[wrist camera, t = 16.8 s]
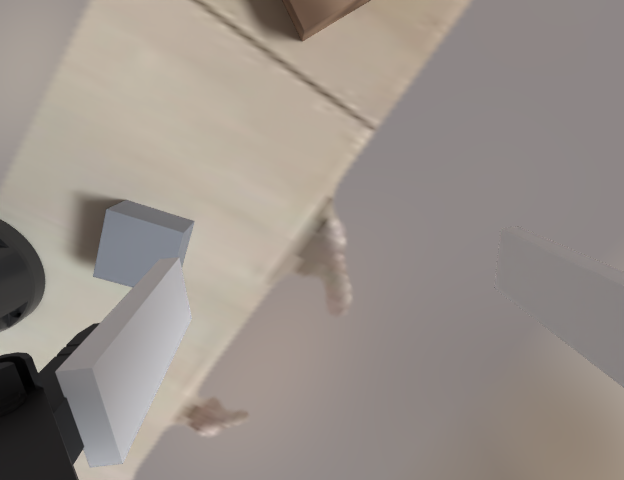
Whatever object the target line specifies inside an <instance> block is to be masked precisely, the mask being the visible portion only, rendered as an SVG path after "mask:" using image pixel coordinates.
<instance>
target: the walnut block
mask: <svg viewBox="0 0 624 480" xmlns="http://www.w3.org/2000/svg"><path fill="white" fill-rule="evenodd" d="M282 1H283V3H284V5H285V7H286V9H287V11H288V13H289V15H290V18H291V20H292V22H293V24H294V26H295V28H296V30H297V32H298V34H299V36H300V38H301V40H302V41H304V40H306V39H307V38H309V37H311V36H312V35H314V34H316V33H317V32H319V31H321V30H322V29H324V28H325V27H327V26H329V25H330V24H332V23H334V22H335V21H337V20H339V19H340V18H342V17H344V16H345V15H347V14H349V13H350V12H352V11H354V10H355V9H357V8H359V7H360V6H362V5H364V4H365V3H367V2H369V1H370V0H282Z"/></svg>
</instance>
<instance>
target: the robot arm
mask: <svg viewBox="0 0 624 480" xmlns="http://www.w3.org/2000/svg"><path fill="white" fill-rule="evenodd" d="M494 288H495V289H496V290H498V291H499V292H500V293H501V294H503V295H504V296H505V297H506V298H508V299H509V300H510V301H512V302H513V303H514V304H516V305H517V306H518V307H519V308H521V309H522V310H524V311H525V312H526V313H527V314H529V315H530V316H531V317H533V318H534V319H535V320H537V321H538V322H539V323H540V324H542V325H543V326H544V327H545V328H547V329H548V330H549V331H551V332H552V333H553V334H555V335H556V336H557V337H558V338H560V339H561V340H562V341H564V342H565V343H566V344H568V345H569V346H570V347H571V348H573V349H574V350H576V351H577V352H578V353H579V354H581V355H582V356H583V357H584V358H586V359H587V360H588V361H590V362H591V363H592V364H594V365H595V366H596V367H598V368H599V369H600V370H601V371H603V372H604V373H605V374H607V375H608V376H609V377H611V378H612V379H613V380H614V381H616V382H617V383H618V384H620V385H621V386H622V387H624V271H621V270H619V269H617V268H614V267H612V266H609V265H607V264H605V263H603V262H600V261H598V260H596V259H593V258H591V257H588V256H586V255H584V254H582V253H579V252H577V251H575V250H572V249H570V248H568V247H565V246H563V245H561V244H558V243H556V242H554V241H551V240H549V239H547V238H544V237H542V236H539V235H537V234H535V233H532V232H530V231H528V230H525V229H523V228H521V227H508V228H501V231H500V240H499V250H498V260H497V269H496V278H495V287H494ZM44 289H45V274H44V269H43V266H42V263H41V261H40V258H39V256H38V254H37V253H36V251H35V250H34V248H33V247H32V245H31V244H30V243H29V242H28V240H27V239H26V238H25V237H24V236H23V235H22V234H20V233H19V232H18V231H17V230H16V229H14V228H13V227H12V226H10V225H9V224H7V223H5V222H4V221H2V220H0V332H1V331H4V330H6V329H8V328H10V327H12V326H14V325H15V324H17V323H18V322H20V321H21V320H22V319H24V318H25V317H27V316H28V315H29V314H30V313H32V312H33V311H34V310H35V308H36V307H37V306H38V304H39V303H40V301H41V299H42V296H43V293H44ZM191 319H192V317H191V312H190V307H189V302H188V297H187V292H186V287H185V282H184V277H183V272H182V267H181V263H180V258H179V257H177V258H166V259H159V260H158V261H157V262H156V264H155V265H154V266H153V267H152V268H151V269H150V270H149V271H148V272H147V273H146V274H145V275H144V276H143V278H142V279H141V280H140V281H139V282H138V283H137V284H136V285H135V286H134V287H133V288H132V289H131V290H130V292H129V293H128V294H127V295H126V296H125V297H124V298H123V299H122V300H121V301H120V302H119V303H118V304H117V306H116V307H115V308H114V309H113V310H112V311H111V312H110V313H109V314H108V315H107V316H106V317H105V318H104V320H103V321H102V322H101V323H97V324H93V325H91V326H89V327H88V328H86V329H85V330H83V331H81V332H80V333H78V334H77V335H76V336H75V337H74V338H73V339H72V340H71V341H70V342H69V343H68V344H67V345H66V347H64V348H63V349H62V350H61V351H60V352H59V353H58V354H57V357H54V358H53V359H52V360H51V361H50V362H49V363H48V364H47V365H46V366H45V367H44V368H43V369H42V370H41V371H40V372H39V373H38V372H37V369H36V367H35V364H34V362H33V359H32V357H31V356H30V355H29V354H27V353H19V352H17V353H11V354H4V355H1V356H0V480H79V479H78V477H77V474H76V471H75V469H74V466H73V464H74V463H75V461H76V459H77V458H78V456H79V455H80V453H81V451H82V450H84V453H85V455H86V458H87V461H88V464H89V466H90V467H98V466H107V465H115V464H123V462H124V460H125V458H126V456H127V454H128V452H129V449H130V447H131V445H132V443H133V441H134V439H135V437H136V435H137V433H138V431H139V428H140V426H141V424H142V422H143V420H144V418H145V416H146V414H147V412H148V410H149V407H150V405H151V403H152V401H153V399H154V397H155V395H156V393H157V391H158V388H159V386H160V384H161V382H162V380H163V378H164V376H165V374H166V372H167V370H168V367H169V365H170V363H171V361H172V359H173V357H174V355H175V353H176V351H177V349H178V346H179V344H180V342H181V340H182V338H183V336H184V334H185V332H186V330H187V328H188V325H189V323H190V321H191Z"/></svg>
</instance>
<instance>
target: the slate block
mask: <svg viewBox="0 0 624 480" xmlns="http://www.w3.org/2000/svg"><path fill="white" fill-rule="evenodd" d="M194 222H195V221H192V220H189V219H185V218H182V217H179V216H176V215H173V214H170V213H166V212H163V211H160V210H157V209H154V208H151V207H147V206H144V205H141V204H138V203H135V202H132V201H128V200H125V201H123V202H121V203H118V204H116V205H114V206H112V207H110V208H108V209H106V214H105V219H104V224H103V229H102V234H101V239H100V244H99V249H98V254H97V259H96V264H95V269H94V274H93V277H96V278H100V279H104V280H107V281H111V282H115V283H118V284H122V285H126V286H129V287H134V286H135V285H136V284H137V283H138V282H139V281H140V280H141V279H142V278H143V276H144V275H145V274H146V273H147V272H148V271H149V270H150V269H151V268H152V267H153V266H154V265H155V264H156V262H157V261H158V260H159V259H166V258H177V257H179V258H180V263H181V267H182V265H183V262H184V258H185V254H186V251H187V247H188V243H189V240H190V236H191V233H192V229H193V225H194Z"/></svg>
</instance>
